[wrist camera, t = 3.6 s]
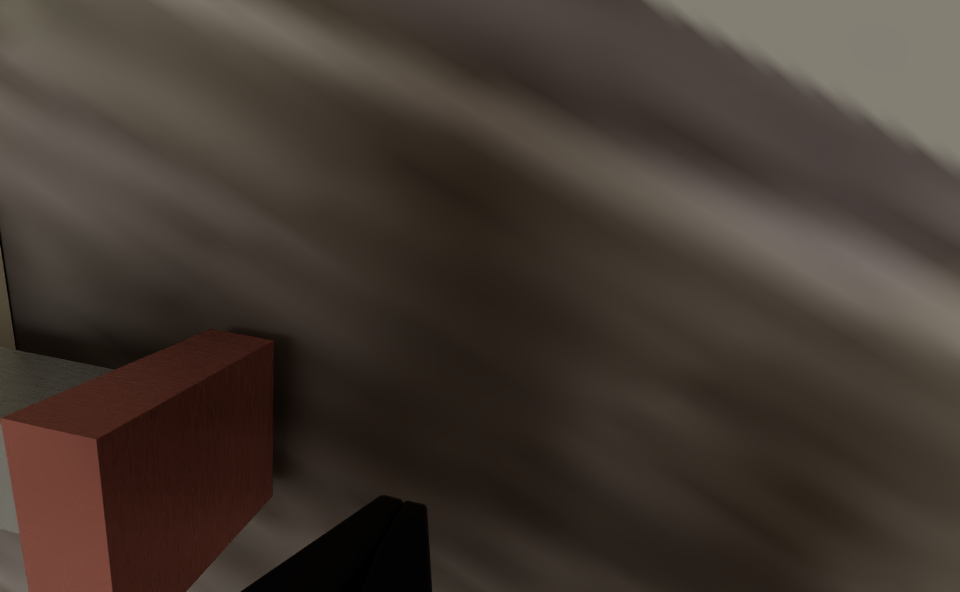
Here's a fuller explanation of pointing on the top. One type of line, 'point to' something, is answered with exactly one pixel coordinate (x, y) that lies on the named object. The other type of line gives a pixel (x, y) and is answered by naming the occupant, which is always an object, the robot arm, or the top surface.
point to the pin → (134, 462)
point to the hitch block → (5, 313)
